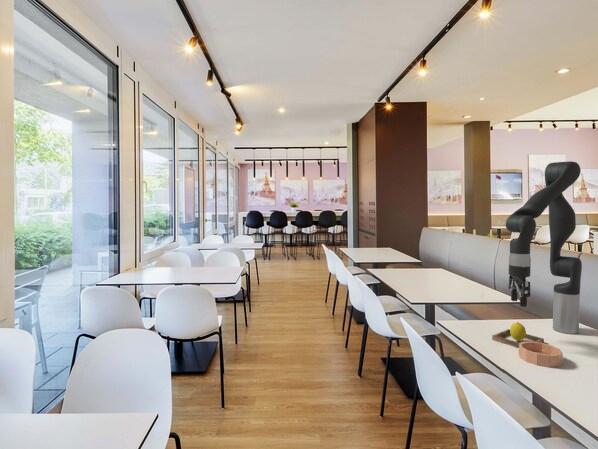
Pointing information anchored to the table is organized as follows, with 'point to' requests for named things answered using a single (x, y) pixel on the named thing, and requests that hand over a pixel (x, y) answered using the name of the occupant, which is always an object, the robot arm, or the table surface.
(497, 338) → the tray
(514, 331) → the lemon
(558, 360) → the bowl
